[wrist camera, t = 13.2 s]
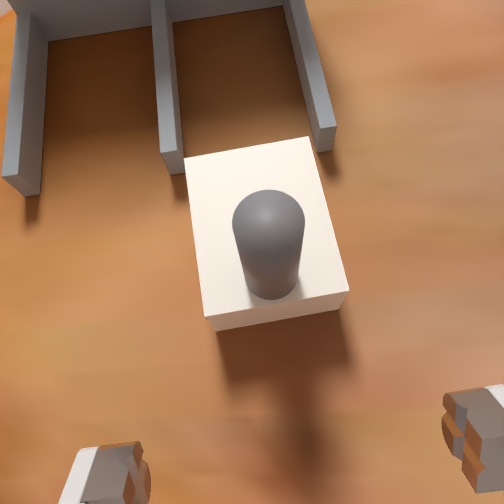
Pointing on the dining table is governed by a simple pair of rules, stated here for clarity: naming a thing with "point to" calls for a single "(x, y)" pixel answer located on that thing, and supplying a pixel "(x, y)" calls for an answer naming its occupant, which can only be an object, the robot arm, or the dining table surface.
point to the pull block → (263, 235)
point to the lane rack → (160, 18)
